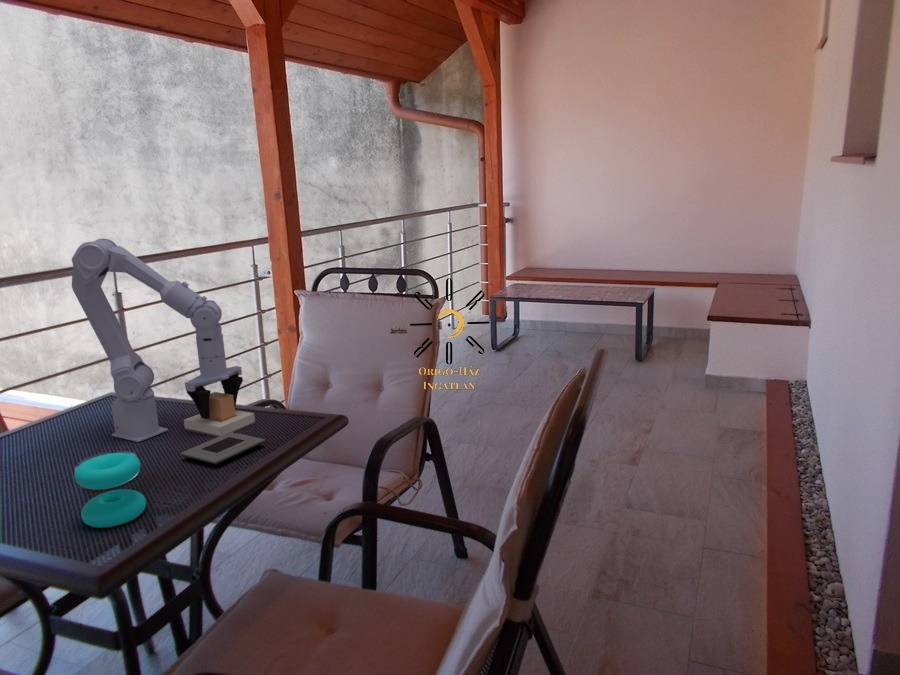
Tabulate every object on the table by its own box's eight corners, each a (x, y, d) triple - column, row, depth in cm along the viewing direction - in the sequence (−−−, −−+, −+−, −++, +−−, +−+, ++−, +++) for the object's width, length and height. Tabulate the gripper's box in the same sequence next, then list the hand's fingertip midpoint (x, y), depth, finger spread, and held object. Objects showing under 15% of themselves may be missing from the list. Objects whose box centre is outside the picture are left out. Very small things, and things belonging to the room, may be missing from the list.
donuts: (88, 479, 108) (62, 464, 115) (98, 537, 111) (72, 519, 117) (150, 458, 116) (122, 445, 122) (158, 513, 118) (130, 497, 124)
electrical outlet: (231, 440, 151) (230, 430, 151) (266, 448, 146) (264, 437, 146) (181, 462, 141) (179, 451, 140) (216, 471, 135) (215, 460, 135)
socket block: (185, 430, 158) (183, 419, 157) (219, 416, 166) (218, 406, 166) (221, 438, 152) (220, 427, 151) (255, 423, 160) (254, 413, 160)
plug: (204, 425, 159) (201, 396, 157) (218, 420, 162) (214, 391, 161) (223, 429, 156) (219, 400, 154) (236, 423, 159) (233, 394, 158)
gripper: (197, 365, 147) (205, 425, 150) (248, 349, 159) (254, 405, 162) (175, 362, 151) (183, 420, 154) (227, 346, 163) (233, 401, 166)
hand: (218, 412), depth 158 cm, fingers open, 7 cm apart
